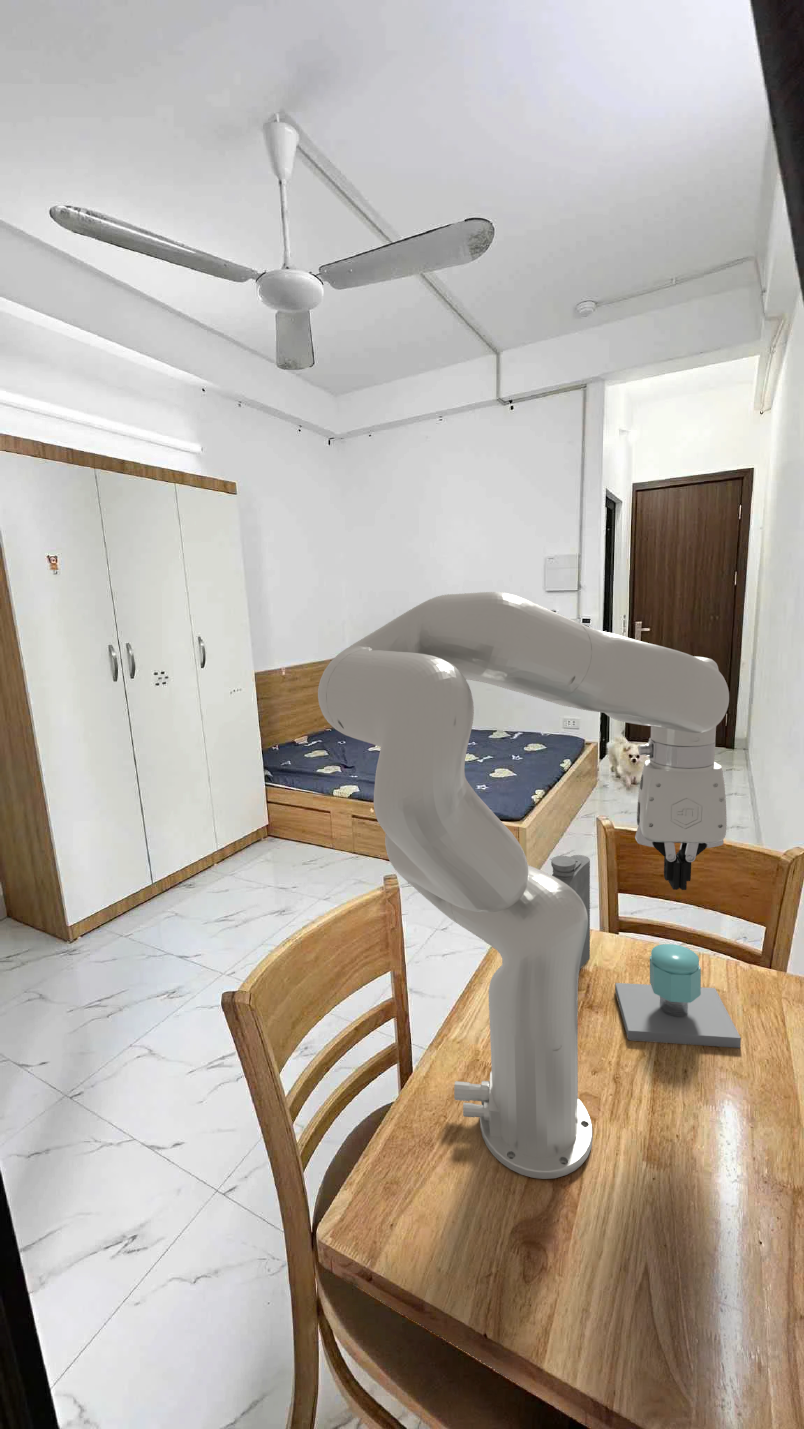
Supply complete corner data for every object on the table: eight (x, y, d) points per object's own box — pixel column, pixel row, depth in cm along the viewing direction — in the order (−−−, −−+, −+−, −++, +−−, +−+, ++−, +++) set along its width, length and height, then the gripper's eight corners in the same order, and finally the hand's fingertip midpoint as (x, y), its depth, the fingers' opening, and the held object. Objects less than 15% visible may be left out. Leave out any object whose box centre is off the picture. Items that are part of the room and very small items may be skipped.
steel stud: (663, 1016, 82) (664, 970, 81) (656, 999, 86) (658, 954, 84) (691, 1018, 82) (692, 971, 80) (683, 1000, 85) (685, 955, 84)
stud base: (628, 1040, 80) (628, 1030, 80) (615, 991, 90) (615, 982, 90) (740, 1047, 78) (740, 1038, 77) (714, 997, 87) (715, 988, 87)
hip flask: (563, 1011, 86) (562, 886, 82) (536, 1003, 89) (533, 880, 85) (592, 953, 100) (592, 842, 96) (568, 947, 102) (567, 838, 98)
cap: (657, 1001, 80) (657, 967, 80) (647, 975, 86) (646, 943, 86) (704, 1003, 79) (705, 968, 79) (691, 976, 85) (691, 944, 84)
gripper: (626, 761, 74) (623, 897, 77) (757, 761, 71) (748, 901, 75) (615, 746, 81) (613, 870, 85) (734, 745, 78) (726, 873, 82)
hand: (676, 884), depth 80 cm, fingers closed
